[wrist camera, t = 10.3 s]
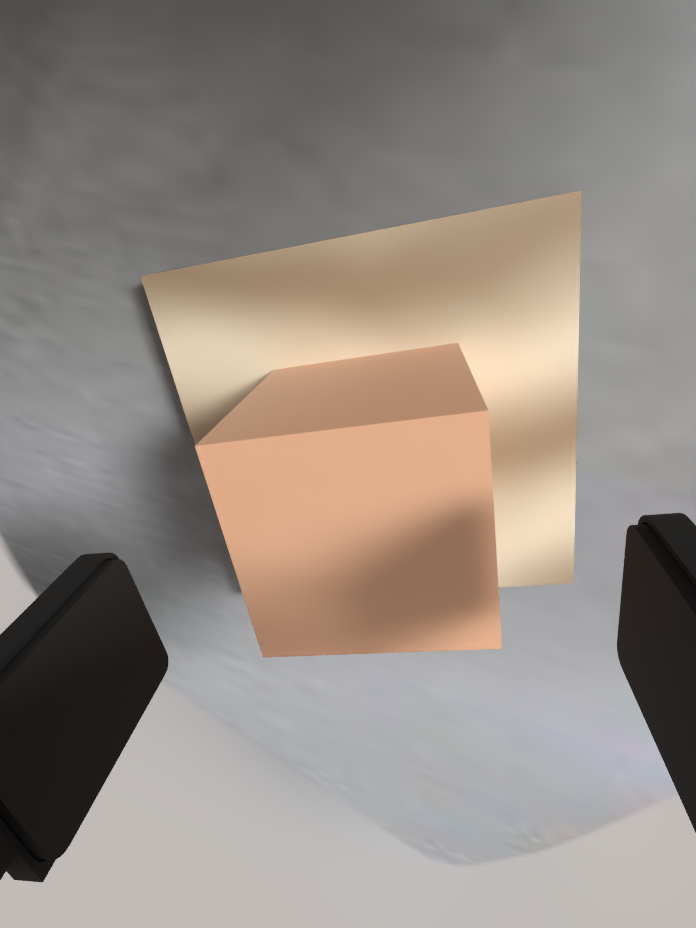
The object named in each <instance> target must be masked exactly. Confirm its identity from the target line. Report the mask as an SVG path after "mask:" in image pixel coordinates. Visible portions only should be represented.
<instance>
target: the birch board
mask: <svg viewBox="0 0 696 928" xmlns="http://www.w3.org/2000/svg"><path fill="white" fill-rule="evenodd" d="M580 240H581V191H577V192H572V193H566V194H561V195H556V196H551V197H546V198H541V199H536V200H530V201H525V202H520V203H515V204H510V205H505V206H499V207H494V208H489V209H484V210H479V211H474V212H469V213H463V214H458V215H453V216H448V217H443V218H438V219H432V220H427V221H422V222H417V223H412V224H407V225H402V226H396V227H391V228H386V229H381V230H376V231H371V232H365V233H360V234H355V235H350V236H345V237H340V238H335V239H329V240H324V241H319V242H314V243H309V244H304V245H298V246H293V247H288V248H283V249H278V250H273V251H268V252H262V253H257V254H252V255H247V256H242V257H237V258H232V259H226V260H221V261H216V262H211V263H206V264H201V265H195V266H190V267H185V268H180V269H175V270H170V271H165V272H159V273H154V274H149V275H144V276H140V277H141V280H142V283H143V286H144V289H145V292H146V295H147V298H148V301H149V304H150V308H151V311H152V314H153V317H154V320H155V323H156V326H157V329H158V332H159V335H160V338H161V342H162V345H163V348H164V351H165V354H166V357H167V360H168V363H169V366H170V369H171V372H172V376H173V379H174V382H175V385H176V388H177V391H178V394H179V397H180V400H181V403H182V406H183V410H184V413H185V416H186V419H187V422H188V425H189V428H190V431H191V434H192V437H193V440H194V444H195V445H196V444H197V443H198V442H199V441H200V440H202V439H203V438H204V437H205V436H206V435H207V434H208V433H209V432H210V431H211V430H212V429H213V428H214V427H215V426H216V425H217V424H218V423H219V422H220V421H221V420H222V419H223V418H224V417H225V416H226V415H228V414H229V413H230V412H231V411H232V410H233V409H234V408H235V407H236V406H237V405H238V404H239V403H240V402H241V401H242V400H243V399H244V398H245V397H246V396H247V395H248V394H249V393H250V392H251V391H253V390H254V389H255V388H256V387H257V386H258V385H259V384H260V383H261V382H262V381H263V380H264V379H265V378H266V377H267V376H268V375H269V374H270V373H271V372H272V371H273V370H275V369H282V368H289V367H295V366H302V365H309V364H316V363H323V362H329V361H336V360H343V359H350V358H356V357H363V356H370V355H377V354H384V353H390V352H397V351H404V350H411V349H418V348H424V347H431V346H438V345H445V344H451V343H458V344H459V346H460V348H461V350H462V353H463V355H464V357H465V359H466V362H467V364H468V366H469V368H470V370H471V373H472V375H473V377H474V379H475V382H476V384H477V386H478V388H479V390H480V393H481V395H482V397H483V399H484V402H485V404H486V406H487V408H488V412H489V429H490V447H491V465H492V482H493V500H494V518H495V535H496V553H497V571H498V587H514V586H531V585H548V584H565V583H574V535H575V486H576V437H577V387H578V338H579V289H580Z"/></svg>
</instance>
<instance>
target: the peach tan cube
mask: <svg viewBox="0 0 696 928" xmlns="http://www.w3.org/2000/svg"><path fill="white" fill-rule="evenodd" d="M195 448H196V451H197V455H198V458H199V461H200V464H201V467H202V470H203V473H204V476H205V479H206V482H207V485H208V489H209V492H210V495H211V498H212V501H213V504H214V507H215V510H216V513H217V516H218V519H219V523H220V526H221V529H222V532H223V535H224V538H225V541H226V544H227V547H228V550H229V553H230V557H231V560H232V563H233V566H234V569H235V572H236V575H237V578H238V581H239V584H240V587H241V591H242V594H243V597H244V600H245V603H246V606H247V609H248V612H249V615H250V618H251V621H252V625H253V628H254V631H255V634H256V637H257V640H258V643H259V646H260V649H261V652H262V655H263V657H286V656H313V655H341V654H368V653H395V652H422V651H450V650H477V649H502V641H501V624H500V606H499V588H498V571H497V553H496V535H495V518H494V500H493V482H492V465H491V447H490V429H489V412H488V408H487V406H486V404H485V402H484V399H483V397H482V395H481V393H480V390H479V388H478V386H477V384H476V382H475V379H474V377H473V375H472V373H471V370H470V368H469V366H468V364H467V362H466V359H465V357H464V355H463V353H462V350H461V348H460V346H459V344H458V343H451V344H445V345H438V346H431V347H424V348H418V349H411V350H404V351H397V352H390V353H384V354H377V355H370V356H363V357H356V358H350V359H343V360H336V361H329V362H323V363H316V364H309V365H302V366H295V367H289V368H282V369H275V370H273V371H272V372H271V373H270V374H269V375H268V376H267V377H266V378H265V379H264V380H263V381H262V382H261V383H260V384H259V385H258V386H257V387H256V388H255V389H254V390H253V391H251V392H250V393H249V394H248V395H247V396H246V397H245V398H244V399H243V400H242V401H241V402H240V403H239V404H238V405H237V406H236V407H235V408H234V409H233V410H232V411H231V412H230V413H229V414H228V415H226V416H225V417H224V418H223V419H222V420H221V421H220V422H219V423H218V424H217V425H216V426H215V427H214V428H213V429H212V430H211V431H210V432H209V433H208V434H207V435H206V436H205V437H204V438H203V439H202V440H200V441H199V442H198V443H197V444H196V445H195Z"/></svg>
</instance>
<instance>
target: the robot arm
mask: <svg viewBox="0 0 696 928" xmlns="http://www.w3.org/2000/svg"><path fill="white" fill-rule="evenodd" d="M617 651H618V657H619V661H620V664H621V667H622V669H623V671H624V674H625V676H626V678H627V680H628V683H629V685H630V687H631V689H632V691H633V694H634V696H635V698H636V700H637V703H638V705H639V707H640V709H641V712H642V714H643V716H644V718H645V720H646V723H647V725H648V727H649V729H650V732H651V734H652V736H653V738H654V741H655V743H656V745H657V747H658V749H659V752H660V754H661V756H662V758H663V761H664V763H665V765H666V767H667V770H668V772H669V774H670V776H671V778H672V781H673V783H674V785H675V787H676V790H677V792H678V794H679V796H680V799H681V800H682V803H683V805H684V807H685V810H686V812H687V814H688V816H689V818H690V821H691V823H692V825H693V828H694V830H695V832H696V526H695V524H694V523H693V522H692V521H691V520H690V519H689V518H688V517H687V516H686V515H685V514H682V513H672V514H658V515H644V516H642V517H641V518H640V519H639V522H638V525H630V526H629V527H628V529H627V535H626V547H625V558H624V570H623V581H622V593H621V604H620V616H619V627H618V639H617ZM167 668H168V655H167V652H166V650H165V648H164V646H163V643H162V641H161V639H160V637H159V635H158V633H157V630H156V628H155V626H154V624H153V622H152V620H151V618H150V615H149V613H148V611H147V609H146V607H145V605H144V602H143V600H142V598H141V596H140V594H139V592H138V589H137V587H136V585H135V583H134V581H133V579H132V576H131V574H130V572H129V570H128V568H127V566H126V564H125V562H124V561H122V560H119V558H118V557H117V556H116V555H115V554H113V553H97V554H85V555H82V556H80V557H79V558H77V559H76V560H75V561H74V562H73V563H72V564H71V565H70V566H69V567H68V568H67V569H66V570H65V571H64V572H63V573H62V574H61V575H60V576H59V577H58V578H57V579H56V580H55V581H54V582H53V583H52V584H51V585H50V586H49V587H48V588H47V589H46V590H45V591H44V592H43V593H42V594H41V595H40V596H39V597H38V598H37V599H36V600H35V601H34V602H33V603H32V604H31V605H30V606H29V607H28V608H27V609H26V610H25V611H24V612H23V613H22V614H21V615H20V616H19V617H18V618H17V619H16V620H15V621H14V622H13V623H12V624H11V625H10V626H9V627H8V628H7V629H6V630H5V631H4V632H3V633H2V634H1V635H0V880H1V878H2V877H3V875H4V873H5V872H6V871H7V872H8V873H9V874H10V876H11V877H12V878H13V879H14V880H23V881H34V882H43V881H44V879H45V877H46V875H47V874H48V872H49V870H50V868H51V867H52V865H53V863H54V861H55V860H56V859H57V858H59V857H60V856H61V855H62V854H63V853H64V852H65V851H66V850H67V848H68V847H69V845H70V843H71V842H72V840H73V838H74V836H75V834H76V833H77V831H78V829H79V827H80V825H81V823H82V822H83V820H84V818H85V817H86V815H87V813H88V811H89V809H90V808H91V806H92V804H93V802H94V800H95V799H96V796H97V795H98V793H99V792H100V790H101V788H102V786H103V784H104V783H105V781H106V779H107V777H108V775H109V774H110V772H111V770H112V768H113V767H114V765H115V763H116V761H117V759H118V758H119V756H120V754H121V752H122V750H123V748H124V747H125V745H126V743H127V742H128V740H129V738H130V736H131V734H132V733H133V731H134V729H135V727H136V725H137V723H138V722H139V720H140V718H141V717H142V715H143V713H144V711H145V709H146V707H147V706H148V704H149V702H150V700H151V698H152V697H153V695H154V693H155V692H156V690H157V688H158V686H159V684H160V683H161V681H162V679H163V677H164V675H165V673H166V671H167Z"/></svg>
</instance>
